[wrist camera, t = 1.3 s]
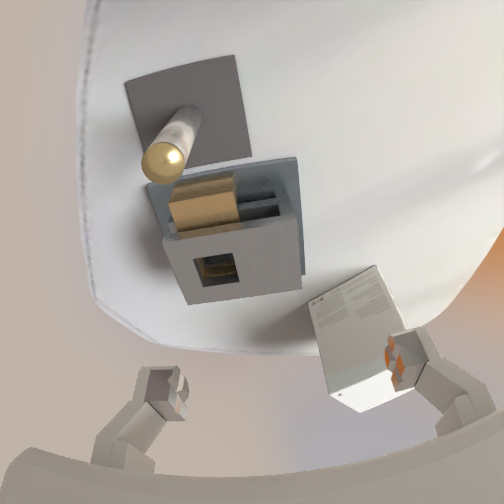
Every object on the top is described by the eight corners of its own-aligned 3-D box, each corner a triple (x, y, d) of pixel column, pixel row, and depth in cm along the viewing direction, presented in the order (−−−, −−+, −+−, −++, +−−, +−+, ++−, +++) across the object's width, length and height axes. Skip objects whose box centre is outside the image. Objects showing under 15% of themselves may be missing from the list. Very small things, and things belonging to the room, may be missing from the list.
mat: (126, 81, 27) (125, 82, 27) (234, 54, 27) (234, 54, 26) (153, 174, 35) (152, 176, 34) (252, 155, 34) (252, 156, 34)
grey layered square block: (148, 183, 35) (132, 215, 30) (295, 157, 35) (309, 184, 29) (187, 287, 47) (182, 325, 41) (304, 270, 46) (314, 307, 40)
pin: (172, 108, 30) (136, 150, 19) (199, 101, 29) (177, 139, 18) (179, 132, 31) (148, 188, 21) (205, 127, 31) (188, 179, 20)
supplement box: (337, 334, 57) (358, 414, 44) (305, 301, 50) (326, 396, 37) (397, 303, 53) (430, 381, 39) (375, 262, 46) (418, 353, 32)
